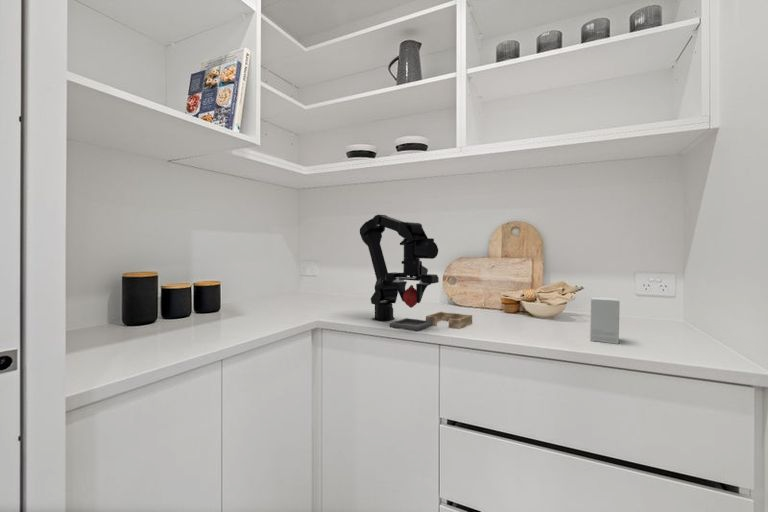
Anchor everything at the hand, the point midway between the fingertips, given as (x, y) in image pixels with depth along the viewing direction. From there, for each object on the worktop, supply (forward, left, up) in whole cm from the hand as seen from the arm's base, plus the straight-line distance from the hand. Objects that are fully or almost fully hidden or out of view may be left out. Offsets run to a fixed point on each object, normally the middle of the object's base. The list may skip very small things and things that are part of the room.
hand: (411, 302), depth 129 cm
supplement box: (+58, +17, -9) cm, 61 cm away
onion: (0, 0, -2) cm, 2 cm away
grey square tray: (0, 0, -9) cm, 9 cm away
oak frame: (+9, +12, -9) cm, 17 cm away
